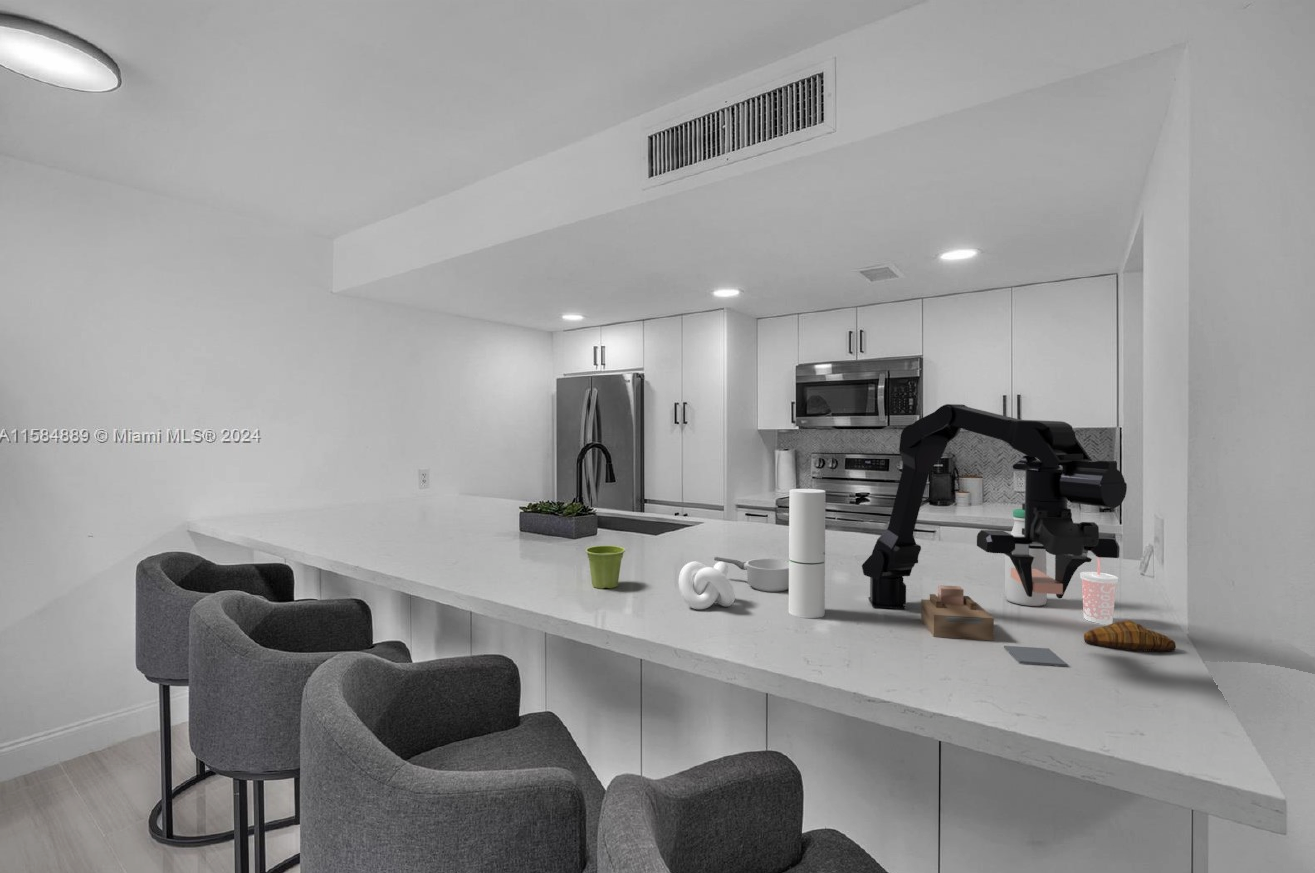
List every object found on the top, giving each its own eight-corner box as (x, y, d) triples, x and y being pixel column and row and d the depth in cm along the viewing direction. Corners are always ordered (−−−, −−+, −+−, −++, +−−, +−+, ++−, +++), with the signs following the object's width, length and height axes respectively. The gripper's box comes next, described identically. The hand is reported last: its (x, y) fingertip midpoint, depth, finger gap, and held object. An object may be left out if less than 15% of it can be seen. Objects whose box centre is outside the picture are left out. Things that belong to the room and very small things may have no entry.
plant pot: (632, 584, 147) (632, 548, 147) (609, 593, 139) (609, 555, 139) (601, 578, 152) (601, 543, 152) (577, 587, 144) (577, 550, 144)
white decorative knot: (685, 616, 123) (686, 571, 123) (672, 599, 135) (672, 558, 135) (739, 612, 125) (739, 568, 125) (721, 596, 137) (721, 556, 137)
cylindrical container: (827, 610, 127) (828, 489, 126) (821, 620, 120) (822, 493, 120) (792, 605, 130) (793, 488, 129) (785, 615, 123) (785, 491, 123)
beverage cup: (1084, 623, 119) (1085, 551, 118) (1075, 614, 124) (1076, 545, 124) (1122, 627, 116) (1123, 554, 116) (1111, 617, 122) (1112, 547, 122)
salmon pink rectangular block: (1034, 592, 97) (1034, 582, 97) (1010, 576, 107) (1010, 567, 107) (1062, 594, 96) (1062, 584, 96) (1036, 578, 106) (1036, 568, 106)
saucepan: (724, 574, 157) (724, 552, 157) (801, 584, 147) (801, 561, 147) (705, 584, 147) (705, 561, 147) (786, 596, 137) (786, 571, 137)
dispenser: (934, 637, 111) (934, 598, 111) (921, 619, 121) (921, 584, 121) (994, 641, 109) (994, 602, 109) (975, 622, 119) (976, 586, 119)
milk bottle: (1052, 607, 128) (1052, 512, 128) (1011, 605, 130) (1011, 511, 130) (1039, 598, 136) (1038, 508, 135) (1000, 596, 137) (1000, 507, 137)
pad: (1019, 663, 99) (1019, 660, 99) (1003, 647, 106) (1003, 645, 106) (1067, 666, 98) (1067, 664, 98) (1048, 650, 104) (1048, 648, 104)
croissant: (1092, 652, 105) (1092, 623, 105) (1076, 638, 111) (1076, 611, 111) (1186, 660, 101) (1187, 630, 101) (1164, 645, 108) (1165, 617, 108)
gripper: (1000, 504, 91) (998, 608, 92) (1141, 508, 88) (1139, 616, 88) (976, 496, 102) (974, 588, 103) (1101, 499, 99) (1099, 595, 99)
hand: (1044, 597), depth 98 cm, fingers closed on salmon pink rectangular block, 4 cm apart
